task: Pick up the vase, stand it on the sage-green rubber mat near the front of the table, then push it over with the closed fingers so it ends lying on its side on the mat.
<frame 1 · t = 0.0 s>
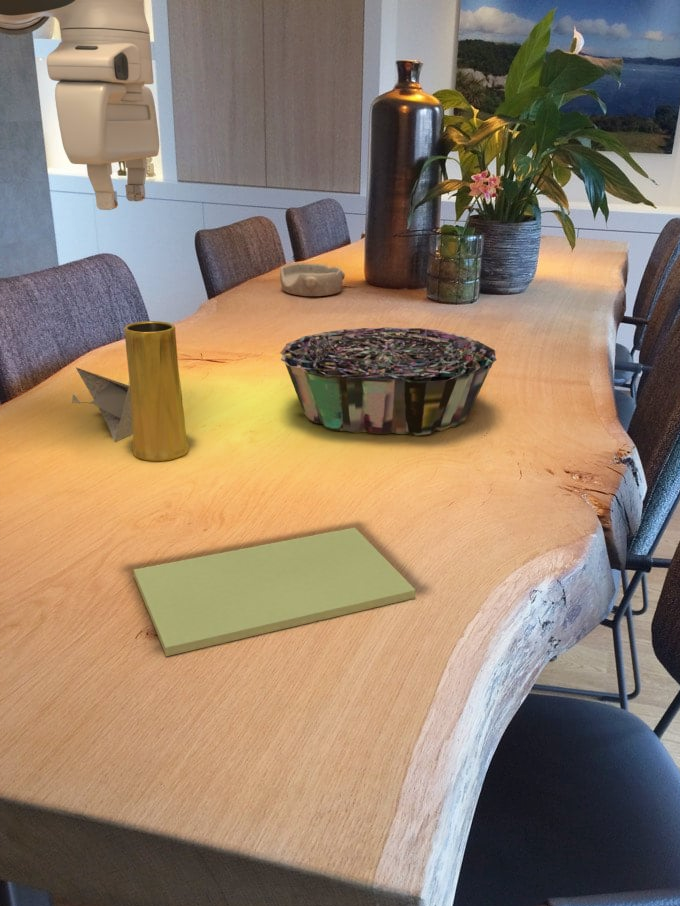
hand: (122, 204, 92), 25 cm above the table, tool pointing down, fingers open, 8 cm apart
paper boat: (108, 427, 101), on the table
mat: (272, 587, 68), on the table
vase: (161, 453, 94), on the table
decorative bowl: (387, 413, 108), on the table
dish: (312, 292, 180), on the table
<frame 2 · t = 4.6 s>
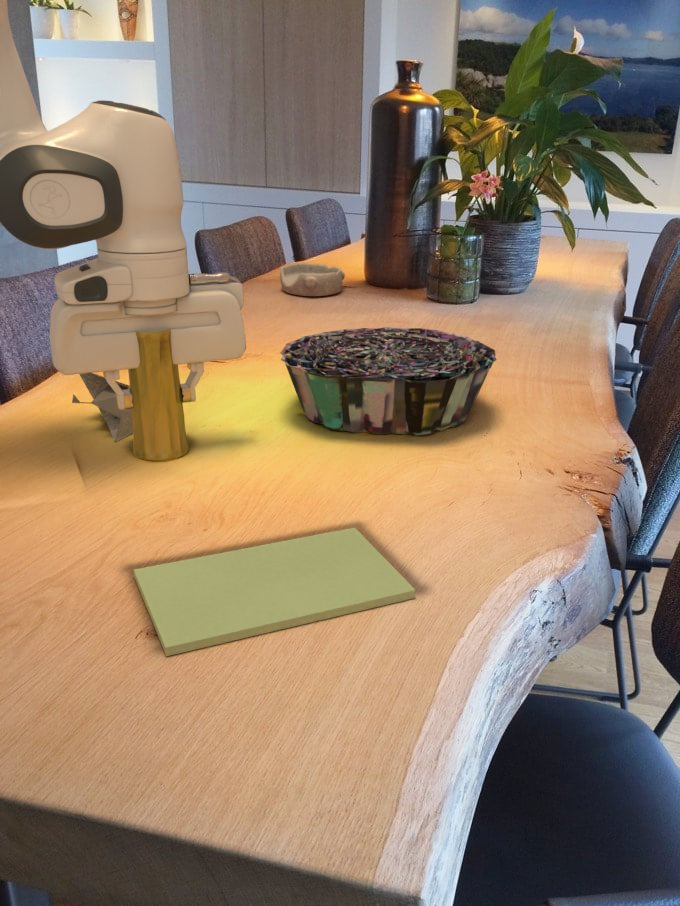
hand: (156, 404, 91), 6 cm above the table, tool pointing down, fingers closed on vase, 5 cm apart
vase: (161, 453, 94), on the table, touching gripper
everything else where it was.
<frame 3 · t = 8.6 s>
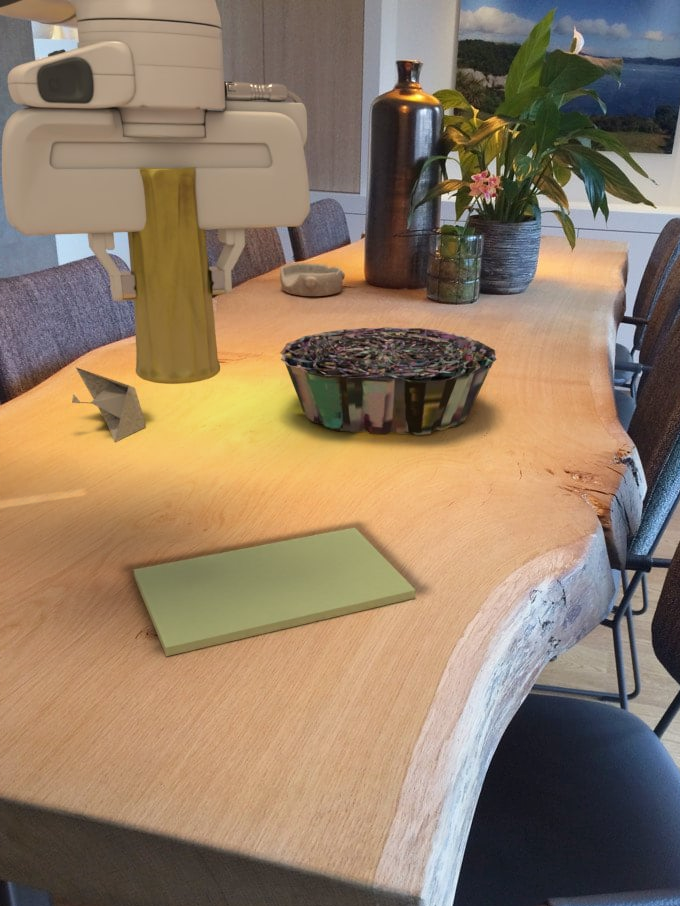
hand: (172, 296, 59), 23 cm above the table, tool pointing down, fingers closed on vase, 5 cm apart
vase: (178, 375, 61), point 17 cm above the table, touching gripper
everything else where it was.
when the fingers open (6 cm above the table, at t = 13.1 s): vase stays where it is, resting on mat.
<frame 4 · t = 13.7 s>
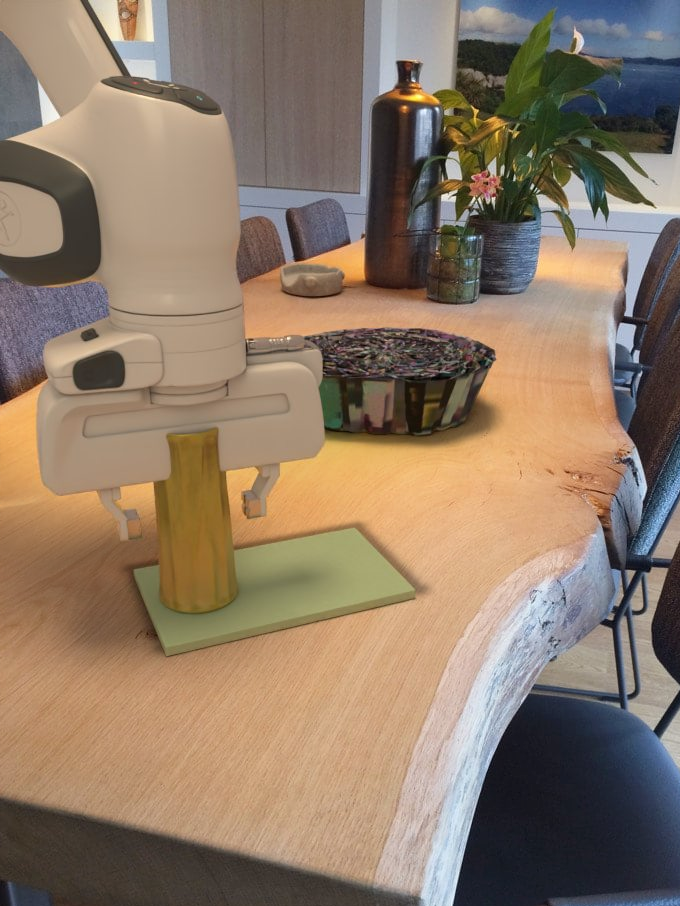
hand: (194, 525, 62), 7 cm above the table, tool pointing down, fingers open, 8 cm apart
vase: (199, 596, 65), point 1 cm above the table, touching mat
everything else where it was.
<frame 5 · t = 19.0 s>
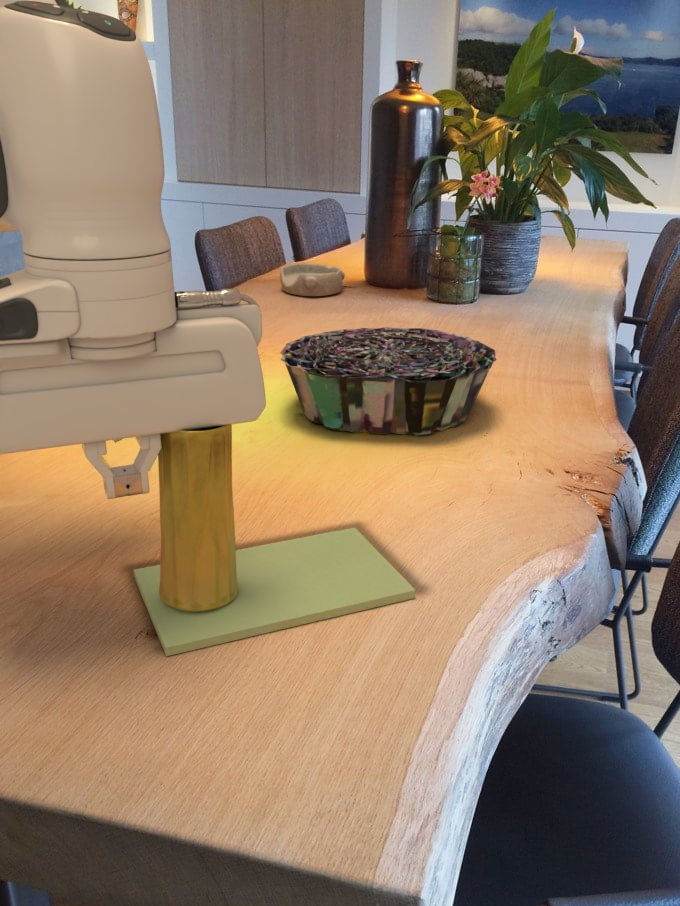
hand: (127, 493, 59), 10 cm above the table, tool pointing down, fingers closed
vase: (199, 594, 65), point 1 cm above the table, touching gripper, mat
everything else where it was.
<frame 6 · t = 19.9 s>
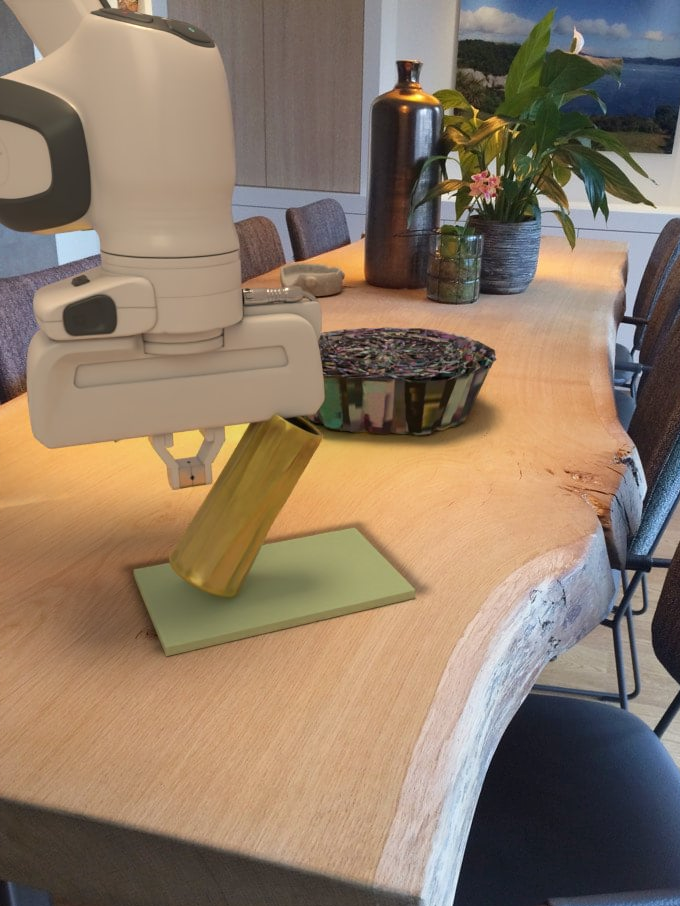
hand: (190, 484, 61), 10 cm above the table, tool pointing down, fingers closed
vase: (202, 577, 64), point 2 cm above the table, touching mat
everything else where it was.
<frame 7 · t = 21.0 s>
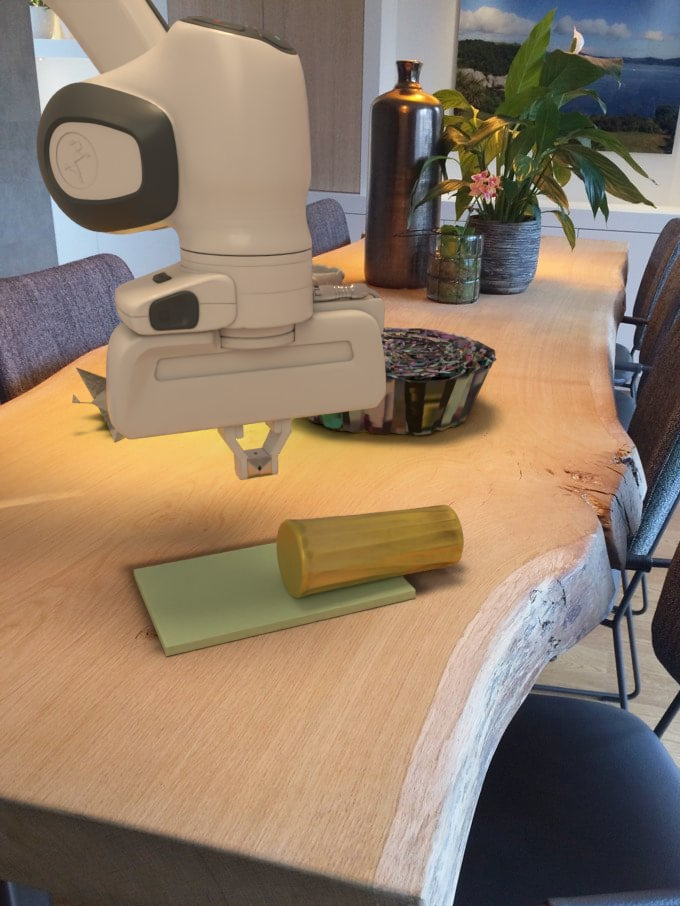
hand: (256, 475, 63), 10 cm above the table, tool pointing down, fingers closed
vase: (285, 559, 64), point 4 cm above the table, touching mat
everything else where it was.
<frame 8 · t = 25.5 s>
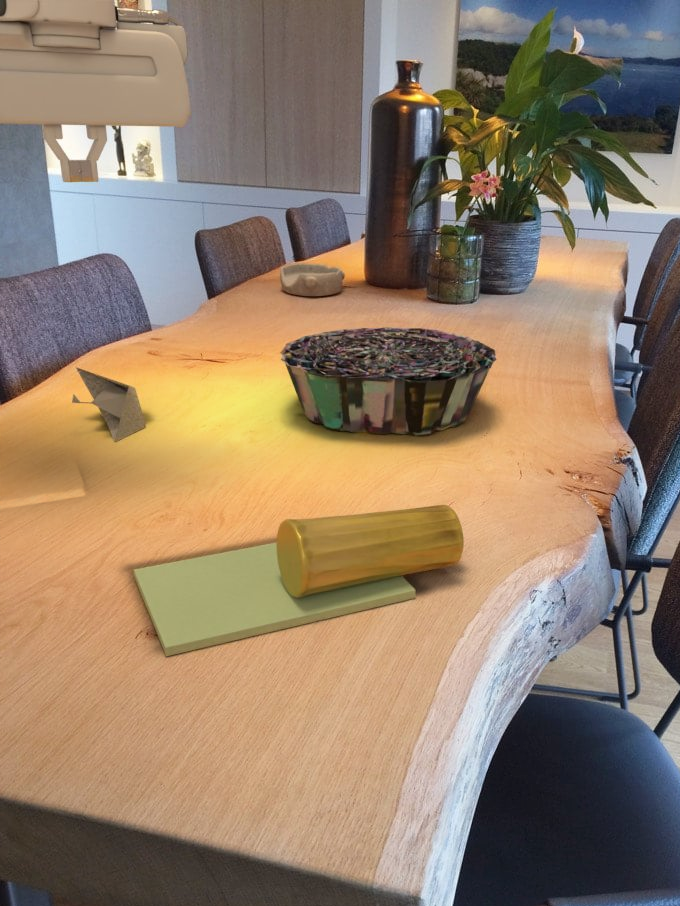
hand: (80, 181, 74), 29 cm above the table, tool pointing down, fingers closed
nothing on the table moved.
at the end: vase inside the target area on the mat (2.5 cm from its centre), point 3.9 cm above the mat's base; vase tilted 93° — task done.
